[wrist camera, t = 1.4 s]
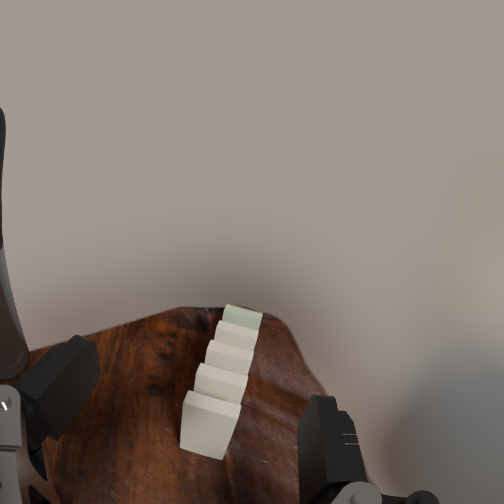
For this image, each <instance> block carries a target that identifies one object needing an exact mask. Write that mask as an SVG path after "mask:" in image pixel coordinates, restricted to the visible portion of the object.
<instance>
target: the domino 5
mask: <svg viewBox="0 0 504 504" xmlns="http://www.w3.org/2000/svg"><path fill="white" fill-rule="evenodd" d="M240 409H241V405H237V404H233V403H230V402H226V401H222V400H219V399H215V398H212V397H209V396H205V395H202V394H199V393H196V392H193V391H190V390H188V393H187V395H186V397H185V399H184V402H183V410H182V423H181V437H180V448H182V449H185V450H188V451H192V452H195V453H198V454H201V455H205V456H208V457H212V458H215V459H219V460H222V459H223V457H224V454H225V452H226V449H227V446H228V444H229V441H230V439H231V436H232V433H233V431H234V428H235V426H236V423H237V420H238V417H239V413H240Z"/></svg>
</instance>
